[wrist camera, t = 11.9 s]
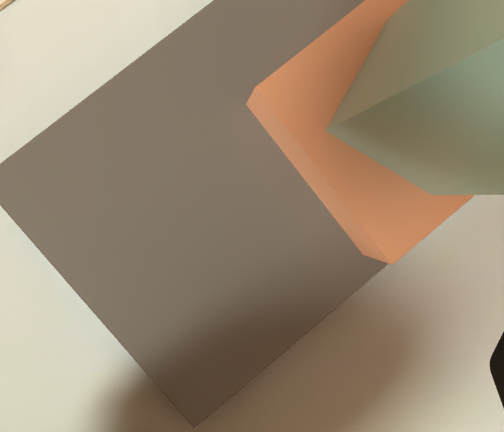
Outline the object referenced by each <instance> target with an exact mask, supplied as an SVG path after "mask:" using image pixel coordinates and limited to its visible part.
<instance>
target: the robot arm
mask: <svg viewBox="0 0 504 432" xmlns="http://www.w3.org/2000/svg"><path fill="white" fill-rule="evenodd" d="M490 370H491V374H492V377H493V380H494V382H495V385H496V388H497V391H498V394H499V396H500V399H501V402H502V405H503V408H504V332H503V334H502V336H501V338H500V340H499V342H498V344H497V346H496V348H495V350H494V352H493V354H492V356H491V359H490Z"/></svg>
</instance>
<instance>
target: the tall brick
mask: <svg viewBox="0 0 504 432" xmlns="http://www.w3.org/2000/svg"><path fill="white" fill-rule="evenodd" d="M325 131H327V132H329V133H330V134H332V135H333V136H335V137H337V138H338V139H340V140H342V141H343V142H345V143H347V144H348V145H350V146H352V147H353V148H355V149H356V150H358V151H360V152H361V153H363V154H365V155H366V156H368V157H370V158H371V159H373V160H375V161H376V162H378V163H380V164H381V165H383V166H384V167H386V168H388V169H389V170H391V171H393V172H394V173H396V174H398V175H399V176H401V177H403V178H404V179H406V180H407V181H409V182H411V183H412V184H414V185H416V186H417V187H419V188H421V189H422V190H424V191H426V192H427V193H429V194H431V195H499V194H504V0H408V1H407V2H406V3H405V4H403V5H402V6H401V7H400V8H399V9H398V10H397V11H396V12H395V13H394V14H393V15H392V16H390V17H389V18H388V20H387V22H386V24H385V25H384V27H383V29H382V31H381V32H380V34H379V36H378V38H377V40H376V41H375V43H374V45H373V47H372V48H371V50H370V52H369V54H368V56H367V57H366V59H365V61H364V63H363V64H362V66H361V68H360V70H359V72H358V73H357V75H356V77H355V79H354V80H353V82H352V84H351V86H350V88H349V89H348V91H347V93H346V95H345V96H344V98H343V100H342V102H341V104H340V105H339V107H338V109H337V111H336V112H335V114H334V116H333V118H332V120H331V121H330V123H329V125H328V127H327V128H326V130H325Z"/></svg>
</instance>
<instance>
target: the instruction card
mask: <svg viewBox="0 0 504 432" xmlns="http://www.w3.org/2000/svg"><path fill="white" fill-rule="evenodd" d="M12 1H13V0H0V10H1V9H3V8H4V7H5V6H7V5H8V4H9V3H11V2H12Z"/></svg>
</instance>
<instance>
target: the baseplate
mask: <svg viewBox="0 0 504 432" xmlns="http://www.w3.org/2000/svg"><path fill="white" fill-rule="evenodd" d="M407 1H408V0H214V1H212V2H211V3H210V4H208V5H207V6H206V7H204V8H203V9H202V10H200V11H199V12H198V13H197V14H195V15H194V16H193V17H191V18H190V19H189V20H187V21H186V22H185V23H184V24H182V25H181V26H180V27H178V28H177V29H176V30H174V31H173V32H172V33H170V34H169V35H168V36H167V37H165V38H164V39H163V40H161V41H160V42H159V43H157V44H156V45H155V46H153V47H152V48H151V49H150V50H148V51H147V52H146V53H144V54H143V55H142V56H140V57H139V58H138V59H137V60H135V61H134V62H133V63H131V64H130V65H129V66H127V67H126V68H125V69H123V70H122V71H121V72H120V73H118V74H117V75H116V76H114V77H113V78H112V79H110V80H109V81H108V82H107V83H105V84H104V85H103V86H101V87H100V88H99V89H97V90H96V91H95V92H93V93H92V94H91V95H90V96H88V97H87V98H86V99H84V100H83V101H82V102H80V103H79V104H78V105H76V106H75V107H74V108H73V109H71V110H70V111H69V112H67V113H66V114H65V115H63V116H62V117H61V118H60V119H58V120H57V121H56V122H54V123H53V124H52V125H50V126H49V127H48V128H46V129H45V130H44V131H43V132H41V133H40V134H39V135H37V136H36V137H35V138H33V139H32V140H31V141H30V142H28V143H27V144H26V145H24V146H23V147H22V148H20V149H19V150H18V151H16V152H15V153H14V154H13V155H11V156H10V157H9V158H7V159H6V160H5V161H3V162H2V163H1V164H0V205H1V206H2V208H3V209H4V210H5V211H6V212H7V213H8V215H9V216H10V217H11V218H12V219H13V220H14V221H15V223H16V224H17V225H18V226H19V227H20V228H21V230H22V231H23V232H24V233H25V234H26V235H27V236H28V238H29V239H30V240H31V241H32V242H33V243H34V244H35V246H36V247H37V248H38V249H39V250H40V251H41V253H42V254H43V255H44V256H45V257H46V258H47V259H48V261H49V262H50V263H51V264H52V265H53V266H54V267H55V269H56V270H57V271H58V272H59V273H60V274H61V276H62V277H63V278H64V279H65V280H66V281H67V282H68V284H69V285H70V286H71V287H72V288H73V289H74V291H75V292H76V293H77V294H78V295H79V296H80V297H81V299H82V300H83V301H84V302H85V303H86V304H87V305H88V307H89V308H90V309H91V310H92V311H93V312H94V314H95V315H96V316H97V317H98V318H99V319H100V320H101V322H102V323H103V324H104V325H105V326H106V327H107V328H108V330H109V331H110V332H111V333H112V334H113V335H114V337H115V338H116V339H117V340H118V341H119V342H120V343H121V345H122V346H123V347H124V348H125V349H126V350H127V351H128V353H129V354H130V355H131V356H132V357H133V358H134V360H135V361H136V362H137V363H138V364H139V365H140V366H141V368H142V369H143V370H144V371H145V372H146V373H147V375H148V376H149V377H150V378H151V379H152V380H153V381H154V383H155V384H156V385H157V386H158V387H159V388H160V389H161V391H162V392H163V393H164V394H165V395H166V396H167V398H168V399H169V400H170V401H171V402H172V403H173V404H174V406H175V407H176V408H177V409H178V410H179V411H180V412H181V414H182V415H183V416H184V417H185V418H186V419H187V421H188V422H189V423H190V424H191V425H192V426H193V427H195V426H197V425H198V424H199V423H200V422H201V421H203V420H204V419H205V418H206V417H207V416H208V415H210V414H211V413H212V412H213V411H214V410H216V409H217V408H218V407H219V406H220V405H222V404H223V403H224V402H225V401H226V400H227V399H229V398H230V397H231V396H232V395H233V394H235V393H236V392H237V391H238V390H239V389H240V388H242V387H243V386H244V385H245V384H246V383H248V382H249V381H250V380H251V379H252V378H253V377H255V376H256V375H257V374H258V373H259V372H261V371H262V370H263V369H264V368H265V367H267V366H268V365H269V364H270V363H271V362H272V361H274V360H275V359H276V358H277V357H278V356H280V355H281V354H282V353H283V352H284V351H285V350H287V349H288V348H289V347H290V346H291V345H293V344H294V343H295V342H296V341H297V340H298V339H300V338H301V337H302V336H303V335H304V334H306V333H307V332H308V331H309V330H310V329H312V328H313V327H314V326H315V325H316V324H317V323H319V322H320V321H321V320H322V319H323V318H325V317H326V316H327V315H328V314H329V313H330V312H332V311H333V310H334V309H335V308H336V307H338V306H339V305H340V304H341V303H342V302H343V301H345V300H346V299H347V298H348V297H349V296H351V295H352V294H353V293H354V292H355V291H357V290H358V289H359V288H360V287H361V286H362V285H364V284H365V283H366V282H367V281H368V280H370V279H371V278H372V277H373V276H374V275H375V274H377V273H378V272H379V271H380V270H381V269H383V268H384V267H385V266H386V265H387V264H388V263H389V264H392V265H393V264H394V263H395V262H396V261H397V260H399V259H400V258H401V257H402V256H403V255H404V254H406V253H407V252H408V251H409V250H410V249H412V248H413V247H414V246H415V245H416V244H417V243H419V242H420V241H421V240H422V239H423V238H425V237H426V236H427V235H428V234H429V233H430V232H432V231H433V230H434V229H435V228H436V227H438V226H439V225H440V224H441V223H442V222H443V221H445V220H446V219H447V218H448V217H449V216H451V215H452V214H453V213H454V212H455V211H457V210H458V209H459V208H460V207H461V206H462V205H464V204H465V203H466V202H467V201H468V200H470V199H471V198H472V197H473V196H474V195H431V194H429V193H427V192H426V191H424V190H422V189H421V188H419V187H417V186H416V185H414V184H412V183H411V182H409V181H407V180H406V179H404V178H403V177H401V176H399V175H398V174H396V173H394V172H393V171H391V170H389V169H388V168H386V167H384V166H383V165H381V164H380V163H378V162H376V161H375V160H373V159H371V158H370V157H368V156H366V155H365V154H363V153H361V152H360V151H358V150H356V149H355V148H353V147H352V146H350V145H348V144H347V143H345V142H343V141H342V140H340V139H338V138H337V137H335V136H333V135H332V134H330V133H329V132H327V131H325V130H326V128H327V127H328V125H329V123H330V121H331V120H332V118H333V116H334V114H335V112H336V111H337V109H338V107H339V105H340V104H341V102H342V100H343V98H344V96H345V95H346V93H347V91H348V89H349V88H350V86H351V84H352V82H353V80H354V79H355V77H356V75H357V73H358V72H359V70H360V68H361V66H362V64H363V63H364V61H365V59H366V57H367V56H368V54H369V52H370V50H371V48H372V47H373V45H374V43H375V41H376V40H377V38H378V36H379V34H380V32H381V31H382V29H383V27H384V25H385V24H386V22H387V20H388V18H389V17H390V16H392V15H393V14H394V13H395V12H396V11H397V10H398V9H399V8H400V7H401V6H402V5H403V4H405V3H406V2H407Z"/></svg>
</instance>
